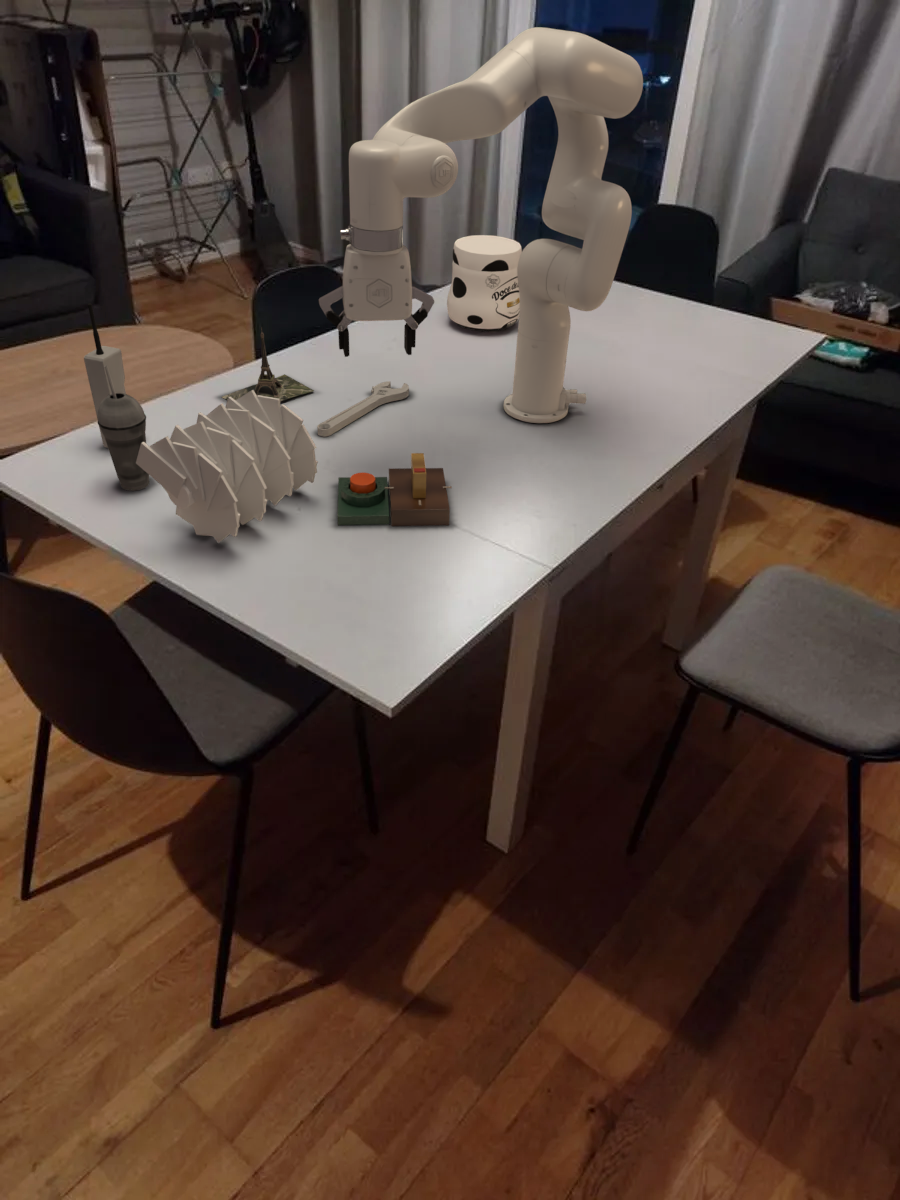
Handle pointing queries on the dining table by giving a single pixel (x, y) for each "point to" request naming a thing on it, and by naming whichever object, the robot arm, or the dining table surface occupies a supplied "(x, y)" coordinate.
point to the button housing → (363, 504)
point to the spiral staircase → (232, 463)
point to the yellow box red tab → (418, 475)
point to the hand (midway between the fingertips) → (377, 352)
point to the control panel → (418, 499)
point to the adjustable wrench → (363, 407)
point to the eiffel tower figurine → (272, 383)
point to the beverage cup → (124, 436)
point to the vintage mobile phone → (103, 370)
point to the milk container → (484, 283)
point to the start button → (362, 483)
